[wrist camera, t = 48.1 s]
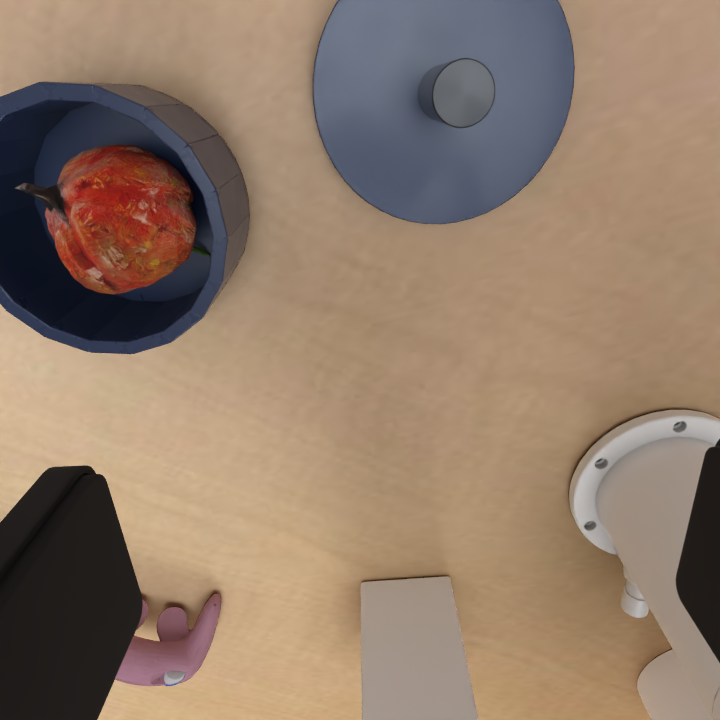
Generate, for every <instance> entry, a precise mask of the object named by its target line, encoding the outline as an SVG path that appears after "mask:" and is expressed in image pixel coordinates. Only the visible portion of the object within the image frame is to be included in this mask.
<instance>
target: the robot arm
mask: <svg viewBox="0 0 720 720" xmlns="http://www.w3.org/2000/svg"><path fill="white" fill-rule="evenodd" d="M569 504H570V508H571V513H572V515H573V517H574V519H575V521H576V524H577V526H578V527H579V529H580V530H581V532H582V533H583V535H584V536H585V537H586V538H587V539H588V540H589V541H590V542H591V543H592V544H594V545H595V546H596V547H598V548H600V549H602V550H604V551H605V552H608V553H611V554H614V555H617V556H619V558H620V560H621V562H622V563H623V565H624V569H623V573H624V577H625V578H626V579H627V582H626V583H625V585H624V589H623V594H622V598H621V607H622V609H623V610H624V611H625V612H626V613H627V614H628V615H630V616H633V617H636V618H643V617H645V616H647V614H648V612H649V608H650V610H651V612H652V614H653V615H654V617H655V619H656V621H657V622H658V624H659V626H660V628H661V629H662V631H663V633H664V635H665V636H666V638H667V640H668V642H669V643H670V645H671V647H672V649H673V650H674V652H675V654H676V656H677V658H678V659H679V661H680V663H681V665H682V666H683V668H684V670H685V672H686V673H687V675H688V677H689V679H690V680H691V682H692V684H693V686H694V687H695V689H696V691H697V693H698V694H699V696H700V698H701V700H702V701H703V703H704V705H705V707H706V709H707V710H708V712H709V714H710V716H711V717H712V719H713V720H720V418H717V417H715V416H712V415H709V414H707V413H703V412H698V411H692V410H666V411H660V412H654V413H650V414H647V415H644V416H640V417H637V418H634V419H632V420H630V421H628V422H626V423H624V424H622V425H620V426H618V427H616V428H615V429H613V430H612V431H610V432H609V433H607V434H606V435H604V436H603V437H602V438H601V439H600V440H599V441H597V442H596V443H595V444H594V445H593V446H592V447H591V448H590V449H589V450H588V452H587V453H586V454H585V456H584V457H583V458H582V459H581V461H580V462H579V464H578V466H577V468H576V470H575V472H574V474H573V477H572V481H571V485H570V488H569ZM142 608H143V602H142V595H141V592H140V589H139V586H138V582H137V579H136V576H135V573H134V569H133V566H132V563H131V559H130V556H129V553H128V550H127V546H126V543H125V540H124V537H123V533H122V530H121V527H120V524H119V520H118V517H117V514H116V511H115V507H114V504H113V501H112V497H111V494H110V491H109V488H108V484H107V482H106V479H105V478H104V476H103V475H100V474H96V473H95V471H94V470H93V469H92V468H91V467H90V466H65V467H52V468H48V469H47V470H46V471H45V472H44V473H43V474H42V475H41V476H40V477H39V479H38V480H37V481H36V482H35V483H34V484H33V485H32V487H31V488H30V489H29V490H28V491H27V492H26V494H25V495H24V496H23V497H22V498H21V499H20V501H19V502H18V503H17V504H16V505H15V506H14V507H13V509H12V510H11V511H10V512H9V513H8V514H7V516H6V517H5V518H4V519H3V520H2V521H1V522H0V720H97V719H98V717H99V714H100V712H101V710H102V707H103V705H104V703H105V701H106V698H107V696H108V694H109V691H110V689H111V687H112V684H113V682H114V680H115V677H116V675H117V673H118V671H119V668H120V666H121V664H122V661H123V659H124V657H125V654H126V652H127V650H128V647H129V645H130V643H131V641H132V638H133V636H134V634H135V631H136V629H137V627H138V624H139V622H140V619H141V615H142Z"/></svg>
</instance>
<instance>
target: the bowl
mask: <svg viewBox="0 0 720 720" xmlns="http://www.w3.org/2000/svg"><path fill="white" fill-rule="evenodd" d="M109 145H134V146H138V147H140V148H143V149H146V150H149V151H151V152H152V153H153V154H154V155H155V156H156V157H157V158H160V159H163V160H166V161H167V162H168V163H170V164H171V165H172V166H173V167H174V168H176V169H177V170H178V172H179V173H180V174H181V175H182V176H183V178H184V179H185V180H186V181H187V182H188V184H189V186H190V188H191V190H192V191H193V197H194V198H193V202H192V204H191V209H192V211H193V214H194V217H195V221H196V235H195V239H194V243H193V246H196V247H200V248H202V249H203V250H205V251H206V252H208V253H209V254H210V257H208V256H205V255H202V254H200V253H197V252H195V251H192V252H191V255H190V257H189V258H188V260H187V261H186V262H184V263H182V264H181V265H180V266H178V267H177V268H176V269H175V270H174V271H173V272H172V273H170V274H168V275H167V276H165V277H163V278H161V279H160V280H158V281H157V282H155V283H154V284H152V285H149V286H146V287H141V288H136V289H133V290H131V291H128V292H125V293H118V294H108V293H99V292H96V291H94V290H91V289H87V288H86V287H84V286H83V285H82V284H81V283H79V282H78V281H77V280H76V279H74V277H73V276H72V275H71V274H70V272H69V270H68V269H67V268H66V267H65V265H64V264H63V262H62V261H61V259H60V257H59V255H58V252H57V249H56V245H55V240H54V239H53V237H52V235H51V234H50V232H49V230H48V225H47V219H46V217H45V211H46V208H47V207H46V206H45V205H44V203H43V202H42V200H40V199H38V198H36V197H35V196H33V195H31V194H29V193H26V192H24V191H22V190H19V189H15V188H16V187H18V186H20V185H21V184H23V183H28V184H33V185H36V186H41V187H50V186H54V185H56V184H57V182H58V179H59V176H60V173H61V171H62V169H63V167H64V165H65V164H66V163H67V162H68V161H69V160H70V159H71V158H73V157H75V156H77V155H78V154H79V153H81V152H82V151H86V150H89V149H92V148H95V147H102V146H109ZM249 217H250V214H249V201H248V195H247V190H246V186H245V182H244V179H243V176H242V173H241V171H240V168H239V166H238V164H237V162H236V160H235V158H234V156H233V154H232V153H231V151H230V149H229V148H228V146H227V144H226V143H225V142H224V140H223V139H222V138H221V137H220V135H219V134H218V133H217V131H216V130H215V129H214V128H213V127H212V126H211V125H210V124H209V123H208V122H207V121H206V120H205V119H204V118H203V117H201V116H200V115H199V114H198V113H196V112H195V111H194V110H193V109H191V108H190V107H188V106H187V105H185V104H183V103H182V102H180V101H178V100H177V99H175V98H173V97H170V96H168V95H166V94H164V93H162V92H158V91H155V90H152V89H149V88H147V87H145V86H141V85H124V84H104V83H71V82H38V83H36V84H33V85H30V86H28V87H25V88H22V89H20V90H17V91H14V92H12V93H9V94H6V95H4V96H1V97H0V304H1V305H2V306H3V307H4V309H6V311H8V312H9V313H11V314H12V315H13V316H15V317H16V318H18V319H19V320H21V321H22V322H24V323H25V324H27V325H28V326H29V327H31V328H32V329H34V330H35V331H37V332H38V333H40V334H41V335H43V336H44V337H47V338H49V339H52V340H55V341H58V342H61V343H63V344H66V345H69V346H72V347H75V348H78V349H81V350H84V351H87V352H92V353H119V354H132V353H133V354H135V353H138V352H142V351H145V350H148V349H151V348H155V347H158V346H161V345H165V344H168V343H171V342H172V341H174V340H175V339H177V338H178V337H179V336H181V335H182V334H183V333H184V332H186V331H187V330H188V329H189V328H191V327H192V326H193V325H194V324H196V323H197V322H198V321H200V320H201V319H202V318H203V317H204V315H205V314H206V312H207V311H208V309H209V308H210V307H211V305H212V304H213V302H214V301H215V299H216V298H217V296H218V295H219V293H220V292H221V290H222V289H223V287H224V286H225V284H226V283H227V281H228V279H229V278H230V276H231V274H232V272H233V271H234V269H235V267H236V265H237V263H238V262H239V260H240V258H241V256H242V254H243V253H244V250H245V245H246V240H247V236H248V231H249Z"/></svg>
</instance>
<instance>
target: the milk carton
mask: <svg viewBox="0 0 720 720" xmlns="http://www.w3.org/2000/svg"><path fill="white" fill-rule="evenodd" d="M361 671H362V720H478V716H477V711H476V706H475V701H474V695H473V690H472V685H471V680H470V675H469V670H468V665H467V660H466V655H465V649H464V644H463V639H462V634H461V629H460V624H459V619H458V614H457V609H456V603H455V598H454V593H453V588H452V583H451V579H450V577H430V578H415V579H400V580H385V581H370V582H362V583H361Z"/></svg>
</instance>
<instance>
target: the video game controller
mask: <svg viewBox="0 0 720 720" xmlns="http://www.w3.org/2000/svg"><path fill="white" fill-rule="evenodd" d="M142 602H143V608H142V615H141V619H140V622H139V624H138V627H137V629H138V628H139V627H140V626H141V625H142V624H143V623H144V621H145V619H146V617H147V614H148V606H147V604H146V602H145V601H144V600H143V599H142ZM220 609H221V597H220V596H219V595H218V594H213V595H212V597H211V598H210V599H209V600H208V601H207V603H206V604H205V606H204V608H203V609H202V611H201V613H200V615H199V617H198V619H197V621H196V623H195V625H194V628H193V629H192V630H190V629H189V627H188V624H187V616H186V613H185V612H184V611H183V610H182V609H180V608H178V607H171V608H168V609H166V610H164V611H163V612H162V613H161V615H160V617H159V619H158V622H157V633H158V636H159V639H160V642H159V641H153V640H148V639H143V638H140V637H137V636H133V638H132V641H131V643H130V645H129V647H128V650H127V652H126V654H125V657H124V659H123V661H122V664H121V666H120V668H119V671H118V673H117V675H116V677H115V679H116V680H118V681H121V682H125V683H128V684H134V685H142V686H161V685H165V686H172V685H176V684H178V683H182V682H184V681H187V680H188V679H190V678H191V677H192V676H193V675H194V674H195V673H196V672H197V671H198V669H199V668H200V666H201V665H202V663H203V661H204V659H205V657H206V655H207V653H208V650H209V648H210V646H211V643H212V640H213V637H214V633H215V630H216V626H217V622H218V618H219V614H220ZM137 629H136V630H137Z"/></svg>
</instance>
